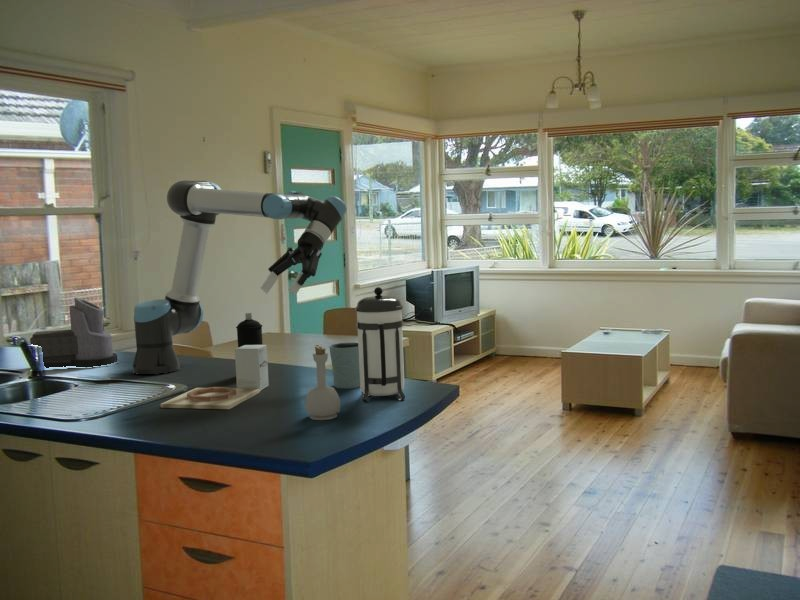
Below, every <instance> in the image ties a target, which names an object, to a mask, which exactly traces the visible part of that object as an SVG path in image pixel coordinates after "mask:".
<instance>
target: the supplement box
mask: <svg viewBox="0 0 800 600" xmlns="http://www.w3.org/2000/svg"><path fill="white" fill-rule="evenodd" d="M234 359H235V361H234V362H235V377H236V380H235V381H236V388H244V389H260V392H262V390H264V389H265V388H268V387H269V385H270V384H269V366H268V365H269V362H268V346H267V344H263V345H244V346H241V347H239V348H238V347H237V348H234Z"/></svg>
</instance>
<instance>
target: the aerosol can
mask: <svg viewBox="0 0 800 600" xmlns="http://www.w3.org/2000/svg"><path fill="white" fill-rule="evenodd" d="M244 314H245V319H244V320H243V321H241V322H239V323H238V324H237V326H236V327H235V328H236V333H237V337H236V338H237V348H239V347H241V346H244V345H264V344H263V342H264V341H263V329H262V327H263V325H262V324H261V323H260V322H259V321H258V320H255V319H253V315H252V312H246V313H244Z"/></svg>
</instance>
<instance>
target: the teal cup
mask: <svg viewBox="0 0 800 600" xmlns="http://www.w3.org/2000/svg"><path fill="white" fill-rule="evenodd" d="M329 354H330V355H329V356H330V359H331V367H332V368H331V369H332V374H333V375H332V376H333V386H334V388H338V389H347V390H348V389H356V388H360V370H359V348H358V342H340V343H333V344H330V345H329Z"/></svg>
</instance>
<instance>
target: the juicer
mask: <svg viewBox="0 0 800 600" xmlns="http://www.w3.org/2000/svg"><path fill="white" fill-rule="evenodd" d="M68 308H69V318H70V329H61V330H57V329H56V330H47V331H35V332H34V333H33V334H32V336H31V337H30V339H29V341H30V345H31V344H33V345H38V346H41V347H42V352H43V362H44V366H45V367H46V368H49V367H63V366H64V367H66V366H76V367H93V366H101V365H107V364H111V363H114V362H117V360H118V353H115V352H113V351H114V350H113V338H112V337H113V336H112V335H111V334H110V333H109V332H108V331H105V321H104V315H105V310H104V309H103V308H101V307H100V306H98V305H96V304H95V303H92V302H90V301H88V300H85V299H82V298H80V297H74V305H70V306H69V307H68Z"/></svg>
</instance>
